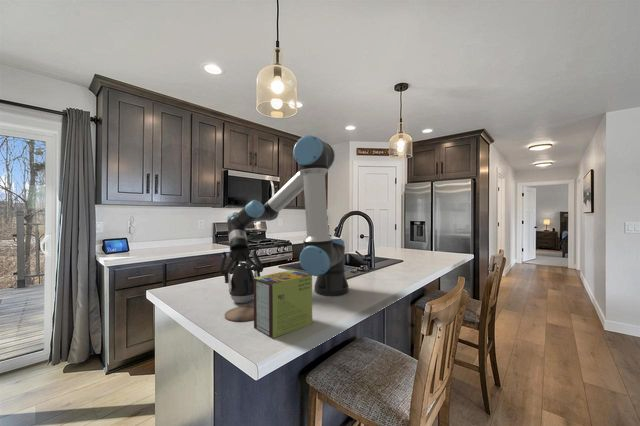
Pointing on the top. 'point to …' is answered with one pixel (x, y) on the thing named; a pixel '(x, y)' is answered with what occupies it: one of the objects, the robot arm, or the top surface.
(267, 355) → the top surface
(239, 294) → the pump dispenser
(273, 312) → the protein box
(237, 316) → the walnut trivet
